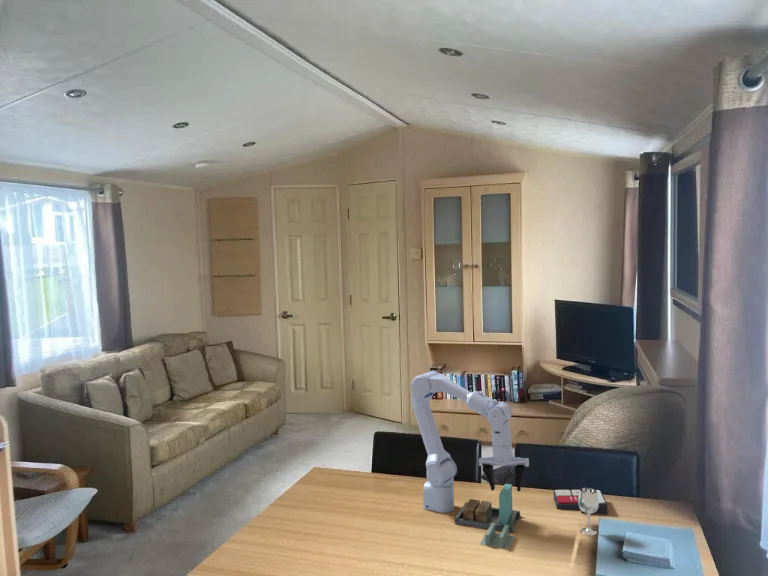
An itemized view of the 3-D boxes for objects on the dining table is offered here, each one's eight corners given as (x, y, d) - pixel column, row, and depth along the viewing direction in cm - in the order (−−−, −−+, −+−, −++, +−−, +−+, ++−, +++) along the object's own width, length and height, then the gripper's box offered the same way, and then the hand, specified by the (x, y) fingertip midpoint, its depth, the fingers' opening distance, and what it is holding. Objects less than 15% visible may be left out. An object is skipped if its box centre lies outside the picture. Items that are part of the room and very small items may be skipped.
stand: (479, 547, 165) (479, 533, 165) (486, 535, 173) (486, 521, 173) (508, 552, 162) (508, 538, 162) (514, 539, 170) (514, 525, 169)
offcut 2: (475, 524, 178) (475, 510, 178) (482, 513, 185) (481, 500, 185) (485, 525, 177) (485, 512, 177) (491, 514, 184) (491, 501, 184)
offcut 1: (463, 522, 180) (463, 509, 179) (470, 511, 187) (470, 499, 187) (473, 523, 178) (472, 510, 178) (479, 512, 186) (479, 500, 186)
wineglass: (599, 528, 175) (598, 488, 174) (599, 537, 169) (599, 495, 169) (578, 526, 177) (577, 486, 176) (578, 535, 171) (577, 493, 171)
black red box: (553, 488, 198) (600, 488, 195) (554, 501, 198) (601, 501, 195) (556, 501, 187) (607, 501, 184) (557, 515, 187) (607, 515, 184)
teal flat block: (499, 528, 175) (498, 494, 174) (506, 516, 183) (505, 483, 183) (506, 529, 174) (505, 495, 174) (512, 516, 182) (511, 484, 182)
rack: (455, 527, 179) (454, 517, 178) (466, 511, 190) (465, 502, 189) (512, 536, 172) (512, 525, 172) (520, 519, 183) (520, 509, 183)
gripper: (475, 447, 177) (479, 493, 177) (525, 448, 172) (529, 495, 172) (479, 441, 183) (483, 485, 183) (528, 441, 178) (532, 486, 179)
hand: (506, 489), depth 178 cm, fingers open, 7 cm apart
